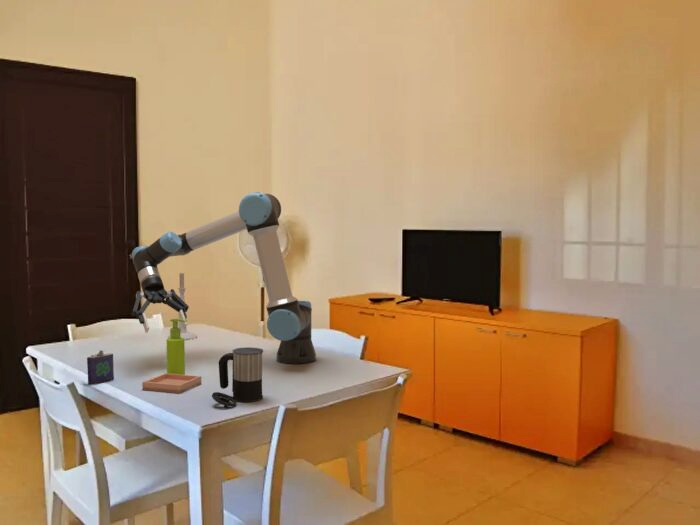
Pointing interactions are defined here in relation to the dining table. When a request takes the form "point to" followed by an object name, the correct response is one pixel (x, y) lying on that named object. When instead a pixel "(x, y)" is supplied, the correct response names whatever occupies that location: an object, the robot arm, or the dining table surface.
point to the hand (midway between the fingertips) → (166, 328)
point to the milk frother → (241, 376)
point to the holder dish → (171, 383)
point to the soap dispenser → (175, 350)
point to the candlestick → (183, 332)
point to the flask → (100, 368)
